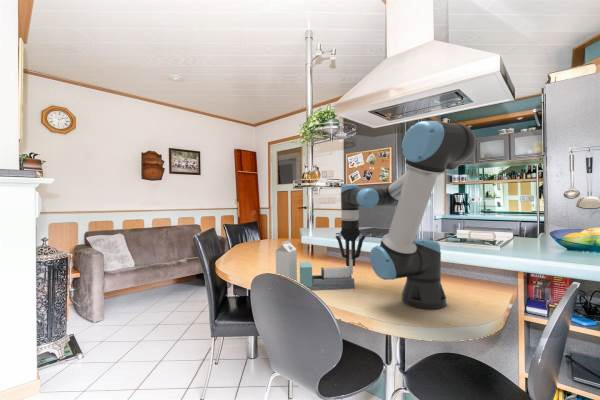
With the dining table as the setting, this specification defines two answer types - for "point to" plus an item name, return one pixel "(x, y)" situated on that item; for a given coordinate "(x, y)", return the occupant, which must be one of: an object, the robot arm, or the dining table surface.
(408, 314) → the dining table surface
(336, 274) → the sliding block
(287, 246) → the milk carton
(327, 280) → the guide channel
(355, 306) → the dining table surface
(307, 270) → the socket housing
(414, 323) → the dining table surface
